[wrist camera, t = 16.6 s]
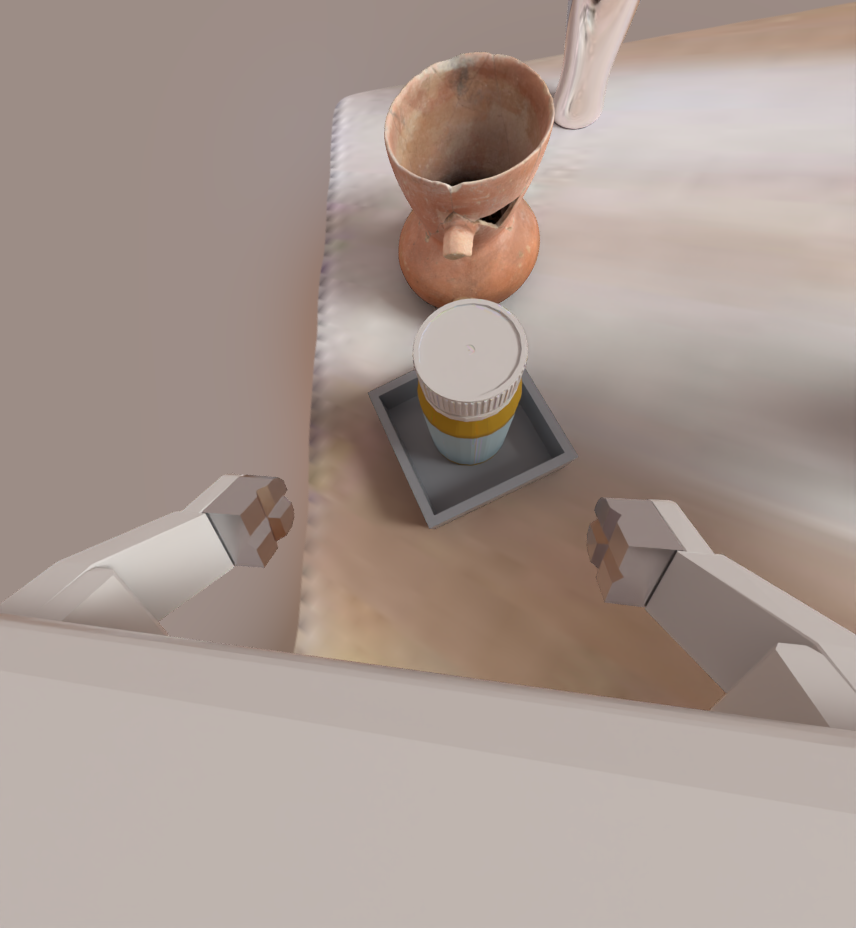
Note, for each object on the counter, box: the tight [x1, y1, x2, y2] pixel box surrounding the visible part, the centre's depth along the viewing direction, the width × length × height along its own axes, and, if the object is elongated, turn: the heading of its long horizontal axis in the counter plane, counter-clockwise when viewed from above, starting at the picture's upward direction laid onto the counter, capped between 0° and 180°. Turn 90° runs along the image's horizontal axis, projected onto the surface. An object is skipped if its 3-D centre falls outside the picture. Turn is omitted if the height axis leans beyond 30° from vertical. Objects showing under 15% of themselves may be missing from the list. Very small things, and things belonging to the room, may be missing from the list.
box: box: [368, 368, 578, 529], centre depth 31 cm, size 14×14×4 cm
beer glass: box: [553, 0, 641, 129], centre depth 33 cm, size 7×7×15 cm
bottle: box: [413, 299, 528, 466], centre depth 25 cm, size 7×7×15 cm
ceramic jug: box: [384, 52, 555, 308], centre depth 30 cm, size 18×14×14 cm
